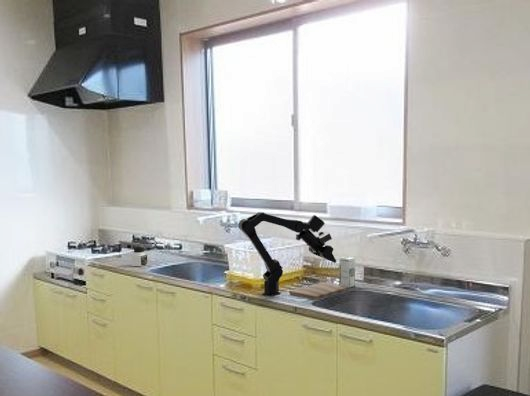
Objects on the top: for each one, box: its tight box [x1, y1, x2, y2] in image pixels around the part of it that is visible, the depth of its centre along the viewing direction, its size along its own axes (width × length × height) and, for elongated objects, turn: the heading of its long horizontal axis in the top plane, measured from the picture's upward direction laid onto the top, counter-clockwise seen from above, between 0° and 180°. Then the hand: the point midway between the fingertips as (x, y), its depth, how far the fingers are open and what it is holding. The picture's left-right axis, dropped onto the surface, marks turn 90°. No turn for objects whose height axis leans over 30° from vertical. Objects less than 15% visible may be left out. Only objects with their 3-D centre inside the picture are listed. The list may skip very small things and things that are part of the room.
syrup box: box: [338, 256, 356, 289], centre depth 262 cm, size 6×6×14 cm
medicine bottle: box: [130, 245, 148, 267], centre depth 329 cm, size 7×7×12 cm
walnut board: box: [289, 281, 349, 301], centre depth 253 cm, size 24×16×2 cm, turn 134°
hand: (331, 260), depth 260 cm, fingers open, 9 cm apart
